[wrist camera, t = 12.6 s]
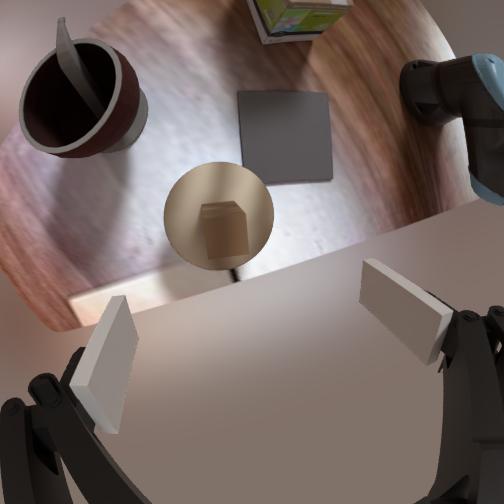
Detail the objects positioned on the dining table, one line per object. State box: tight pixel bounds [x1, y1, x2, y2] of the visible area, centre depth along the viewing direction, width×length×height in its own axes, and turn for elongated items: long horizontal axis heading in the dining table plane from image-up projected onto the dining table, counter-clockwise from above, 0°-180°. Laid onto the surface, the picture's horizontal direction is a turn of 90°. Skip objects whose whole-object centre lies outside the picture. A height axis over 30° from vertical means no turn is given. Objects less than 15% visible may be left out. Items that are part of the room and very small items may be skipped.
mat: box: [237, 91, 333, 183], centre depth 41 cm, size 15×15×1 cm
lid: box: [164, 162, 274, 270], centre depth 31 cm, size 14×14×10 cm
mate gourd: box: [19, 17, 148, 158], centre depth 25 cm, size 16×14×20 cm
